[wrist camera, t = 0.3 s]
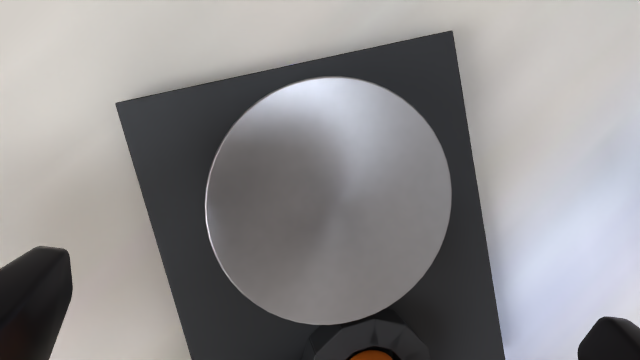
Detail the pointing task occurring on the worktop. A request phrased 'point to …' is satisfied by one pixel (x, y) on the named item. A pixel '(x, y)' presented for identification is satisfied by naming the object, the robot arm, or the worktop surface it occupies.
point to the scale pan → (328, 200)
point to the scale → (253, 321)
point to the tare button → (371, 355)
